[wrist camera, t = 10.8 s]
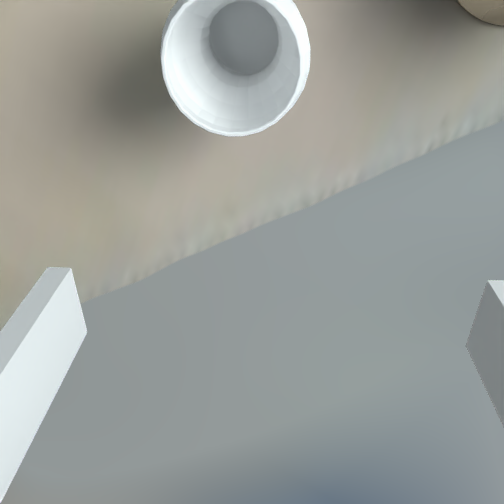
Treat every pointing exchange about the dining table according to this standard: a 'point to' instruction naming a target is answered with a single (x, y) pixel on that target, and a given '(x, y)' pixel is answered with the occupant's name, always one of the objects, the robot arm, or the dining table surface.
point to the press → (485, 10)
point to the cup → (235, 62)
